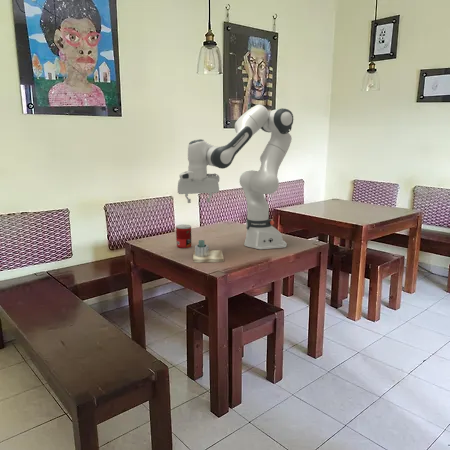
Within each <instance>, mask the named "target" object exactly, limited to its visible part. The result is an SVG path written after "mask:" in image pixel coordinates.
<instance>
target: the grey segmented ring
mask: <svg viewBox="0 0 450 450" xmlns="http://www.w3.org/2000/svg"><path fill="white" fill-rule="evenodd" d="M204 245H205V247H199V243H198V244H196V245H194V251H195V256H197V257H206V256H208V255H209V251H210V249H209V246H210V245H208V244H206V243H204Z"/></svg>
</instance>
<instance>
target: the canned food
mask: <svg viewBox="0 0 450 450" xmlns="http://www.w3.org/2000/svg"><path fill="white" fill-rule="evenodd" d="M175 240H176V247H177V248H179V249H189V248H191V247H192V225H190V224H177V225H175Z"/></svg>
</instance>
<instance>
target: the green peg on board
mask: <svg viewBox="0 0 450 450" xmlns="http://www.w3.org/2000/svg"><path fill="white" fill-rule="evenodd" d="M198 244H199V247H205V245H204V244H205V239H199V240H198ZM192 260H193V261H192V263H194V264H195V263H200V264H201V263H224V261H225V260H224V255H223V251H222V249H220V250H215V249H214V250H209V255H208V256H206V257H197V256H195V250H193V255H192Z"/></svg>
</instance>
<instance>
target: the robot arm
mask: <svg viewBox="0 0 450 450" xmlns="http://www.w3.org/2000/svg"><path fill="white" fill-rule="evenodd" d="M293 124H294V114H293V112H292V111H291V110H289V109H287V108H282V107H281V108H277V109H273V110H268V109H267V107H266V106H264V105H262V104H256V105H254V106H252V107H250V108H249V109H248V110H246V111H245V112H244V113H242V115H241V116H239V118H238V119H237V120H236V121H235V123H234V131H235V133H236V134H235V135H234V136H233V137H232V139H231V140H230V141H228V142H227V144H225V145H221V146H218V145H217V146H216V145H213V144H211V143H208V142H207V141H205V140H204V139H194V140H191V141H190V142H189V143H188V145H187V161H188V168H187V169H188V170H187V171H184V172H181V173H180V174H179V180H178V182H177V193H178V195H184V196H185V198H186V200H187V203H188V204H190V203H191V202H192V200H191V198H190V197H189V195H191V194H192V195H193V194H197V195H198V194H208V195H209V196H208V197H207V198H206V202H207V203H211V198H212V196H213V194H217V193H219V192H220V184H219V182H220V175H219V174H217V173H208V167H207V166H211V167H215V168H219V169H227V168H228V167H229V166H231V164H232V163H233V161H234V159H235V158H236V155H237V154H238V153H239V152H240V151H241V150H242V149H243V148H244V147H245V145H246V144H247V143H249V141H250V140H251V139H252V138H253V136H254V135H255V134H256V133H257V132H258V131H260V129H261V130H262V131H263V132H265V133H271V135H270V138H269V141H268V142H267V144H266V146H265V147H264V149H263V151H262V153H261V155H260V158H259V160H260V167H259V170H254V169H252V170H247V171H244V172H242V173H241V175H240V176H239V185H240V187H241V188H242V190H243V192H244V196H245V200H246V208H247V211H246V213H247V217H246V223H245V224H246V226H245V227H246V234H245V235H246V236H245V240H244V243H243V245H244V246H245V247H248V248H253V249H257V250H269V249H281V248H287V242H286V241H285V240H284V239H283V234H282V233H281V232H280V231H279V230H278V229H277V228H276V227H275V226H273V225H274V224H275V221H274V220H272V219H270V218H269V212H270V211H269V210H270V209H269V206H270V205H269V203H268V201H267V199H266V197H265V195H268V194H269V195H272V194H274V193H276V191H277V190H278V188H279V185H280V182H279V179H278V172H279V169H280V166H281V165H282V162H283V160H284V158H285V157H286V155H287V153H288V151H289V148H290V147H291V142H292V140H293V139H292V135H291V133H289V132H291V131H292V127H293Z"/></svg>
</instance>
